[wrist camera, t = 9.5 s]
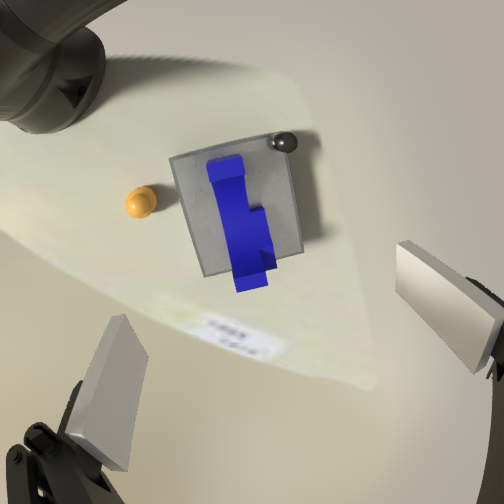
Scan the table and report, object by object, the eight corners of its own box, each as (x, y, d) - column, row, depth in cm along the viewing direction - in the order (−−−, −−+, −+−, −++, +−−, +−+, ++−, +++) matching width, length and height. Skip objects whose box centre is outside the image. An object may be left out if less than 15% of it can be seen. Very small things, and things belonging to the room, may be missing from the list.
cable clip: (271, 256, 32) (283, 281, 27) (233, 265, 32) (237, 292, 26) (251, 150, 27) (260, 153, 22) (208, 160, 27) (205, 164, 22)
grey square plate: (173, 156, 30) (158, 162, 22) (275, 132, 31) (296, 129, 22) (205, 264, 36) (202, 302, 28) (296, 241, 36) (319, 272, 28)
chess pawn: (127, 191, 31) (117, 197, 28) (152, 182, 31) (145, 187, 28) (135, 217, 32) (127, 225, 29) (160, 209, 33) (154, 217, 29)
